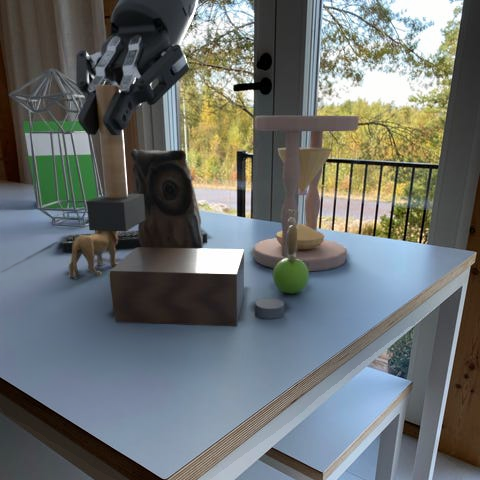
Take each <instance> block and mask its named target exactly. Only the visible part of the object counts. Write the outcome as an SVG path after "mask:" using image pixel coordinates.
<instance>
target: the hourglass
mask: <svg viewBox="0 0 480 480" xmlns="http://www.w3.org/2000/svg"><path fill="white" fill-rule="evenodd" d="M359 120H360V119H359V116H357V115H256V116H255V117H254V130H256V131H263V132H264V131H265V132H266V131H267V132H285V147H280V148H279V147H278V148H277V152H278V156H279V158H280V160H281V161H282V163H283V167H282V184H283V188H284V193H285V198H284V202H283V204H282V207H281V212H280V223H281V231H278V232H276V234H275V235H276V237H274V238H268V239H267V238H266V239H264V240H261V241H258V242H257V243H256V244H254V246H253V247H252V258H253V259H254V262H256V263H258V264H260V265H261V266H263V267H266V268H271V269H274V268H275V266H276V265H277V264H278V263H279V262H280V261H281V260H283V259H285V258H288V256H287V248H286V236H287V231H288V219H289V213H288V210H289V209H290V210H291V211H293V210H296V212H295V213H293V212H291V213H290V218H291V217H293V218H294V219H295V220H296V224H295V226H296V227H297V254H296V258H297V259H299V260H301V261H302V262H304V263H305V265H306V266H307V268H308V271H309V272H320V271H321V272H322V271H327V270H332V269H336V268H339V267H340V266H342V265H344V264H345V262H346V258H347V250H348V249H347V248H346V247H345V246H344V245H342V243H339V242H336V241H333V240H329V239H325V234H324V233H323V232H320V231H318V218H319V213H320V209H321V197H320V193H319V188H318V186H319V183H320V180H321V178H322V173H323V166H324V165H325V164H326V162H327V160H328V159H329V158H330V156H331V153H332V151H333V148H329V147H328V148H326V147H323V138H324V132H353V131H354V132H355V131H357V130H358V129H359ZM301 132H310V134H309V135H310V136H309V147H301ZM307 188H308V190H307ZM296 194H297V195H298V196H305V200H304V216H305V217H304V218H305V223H304V224H303V223H299V208H298V203H297V198H296ZM298 223H299V224H298Z"/></svg>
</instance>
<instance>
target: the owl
mask: <svg viewBox="0 0 480 480" xmlns="http://www.w3.org/2000/svg"><path fill="white" fill-rule="evenodd" d="M130 156H131V157H132V161H133V167H132V172H133V178H134V191H133V193H132V194H144V206H145V220H144V221H142V222H141V223H139V224H138V225H137V231H138V235H139V240H140V245H141V246H142V247H148V248H196V249H204V243H203V240H202V238H203V236H202V231H203V230H202V219H201V213H200V210H199V205H198V201H197V197H196V191H195V186H194V184H193V181H194V180H193V176H192V172H191V169H190V166H189V164H188V161H187V153H186V152H185V150H183V149H173V150H158V149H151V150H146V149H138V150H137V149H136V148H133V149H132V150H131V153H130ZM201 230H202V231H201Z"/></svg>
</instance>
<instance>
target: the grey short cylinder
mask: <svg viewBox="0 0 480 480" xmlns="http://www.w3.org/2000/svg"><path fill="white" fill-rule="evenodd" d="M254 302H255V303H254V314H255V316H256V317H258V318H262V319H265V320H275V319H279V318H282V317H283V316H284V315H285V302H284V301H283V300H282V299H281V300H280V299H278V298H270V297H269V298H260V299H257V300H256V301H254Z"/></svg>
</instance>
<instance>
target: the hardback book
mask: <svg viewBox="0 0 480 480" xmlns="http://www.w3.org/2000/svg"><path fill="white" fill-rule="evenodd" d="M32 121H33V120H31V124H32ZM62 121H63V120H62ZM62 121H61V120H60V121H59V120H57V122H58V123H59V124H60V125H61V123H62ZM45 122H46V123H47V124H48V126H49V127H50V128H51V130H52V131H58V130H59V127H58V125H57V124H56V123H55V121H54V120H52V121H51V120H45ZM45 122H44V121H43V120H42V121H41V120H34V123H33V128H32V132H39V131H50V129H49V128H48V126H47V125H46V124H45ZM73 122H74V120H65V122H64V124H63V126H62V129H63V130H64V131H70V129H71V126H72V124H73ZM22 125H23V131H24V135H25V136H24V137H25V143H26V148H27V155H28V160H29V167H30V174H31V178H32V186H33V190H34V191H33V192H34V193H35V184H34V173H33V162H32V151H31V140H30V126H29V120H27V121H25V120H24V121H22ZM71 131H85V130H84V129H83V128H82V126H81V125H80V123H79V120H76V121H75V123H74V125H73V128H72V130H71ZM72 133H73V132H72ZM32 135H33V144H34V151H35V159H36V166H37V173H38V181H39V188H40V195H41V202H42V205H46V204H49V203H52V202H55V201H57V199H56V188H55V178H54V168H53V158H52V148H51V139H50V133H32ZM64 135H65V141H66V147H67V154H68V160H69V167H70V173H71V180H72V186H73V193H74V200H83V197H82V192H81V187H80V182H79V177H78V171H77V166H76V161H75V156H74V151H73V145H72V140H71V135H70V134H64ZM52 136H53V146H54V156H55V166H56V176H57V186H58V197H59V200H67V196H66V189H65V182H64V175H63V168H62V161H61V154H60V147H59V140H58V134H54V133H52ZM73 138H74V143H75V149H76V154H77V159H78V164H79V169H80V175H81V180H82V185H83V190H84V196H85V200H92V199H95V198H97V192H96V185H95V178H94V172H93V165H92V159H91V152H90V145H89V139H88V134H87V133H73ZM60 139H61V146H62V153H63V160H64V167H65V174H66V181H67V188H68V196H69V200H72V196H71V189H70V183H69V176H68V170H67V163H66V157H65V150H64V143H63V137H62V134H60ZM37 191H38V190H37ZM34 198H35V199H36V195H35V194H34ZM38 202H39V198H38ZM60 205H61V206H62V208H63V209H67V202H62V203H60ZM86 205H87V202H86ZM39 206H40V205H39ZM75 206H76V208H85V207H84V202H75ZM44 208H57V209H61V207H60V206H59V204H58V203H56V204H53V205H50V206H47V207H44ZM71 208H73V202H69V209H71Z"/></svg>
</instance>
